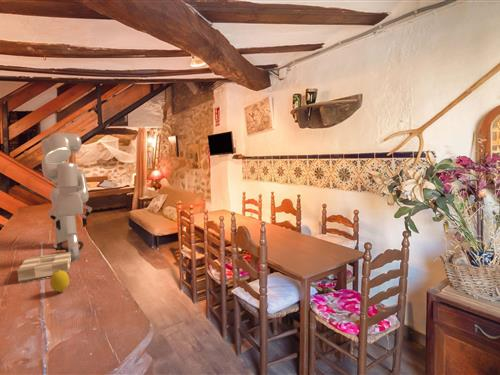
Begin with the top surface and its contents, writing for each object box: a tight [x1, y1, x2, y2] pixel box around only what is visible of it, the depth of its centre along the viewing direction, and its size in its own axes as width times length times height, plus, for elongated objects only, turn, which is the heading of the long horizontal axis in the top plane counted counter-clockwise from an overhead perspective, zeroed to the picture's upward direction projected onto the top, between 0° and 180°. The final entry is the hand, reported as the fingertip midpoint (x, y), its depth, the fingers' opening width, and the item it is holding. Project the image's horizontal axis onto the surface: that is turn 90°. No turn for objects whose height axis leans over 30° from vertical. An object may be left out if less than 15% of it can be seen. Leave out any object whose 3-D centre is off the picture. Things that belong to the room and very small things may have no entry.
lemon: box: [50, 270, 70, 293], centre depth 103 cm, size 6×6×8 cm
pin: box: [67, 232, 81, 260], centre depth 137 cm, size 4×4×12 cm
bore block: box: [17, 251, 72, 284], centre depth 122 cm, size 16×16×5 cm
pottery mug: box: [55, 240, 84, 253], centre depth 146 cm, size 12×10×8 cm
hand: (72, 228), depth 135 cm, fingers open, 9 cm apart
